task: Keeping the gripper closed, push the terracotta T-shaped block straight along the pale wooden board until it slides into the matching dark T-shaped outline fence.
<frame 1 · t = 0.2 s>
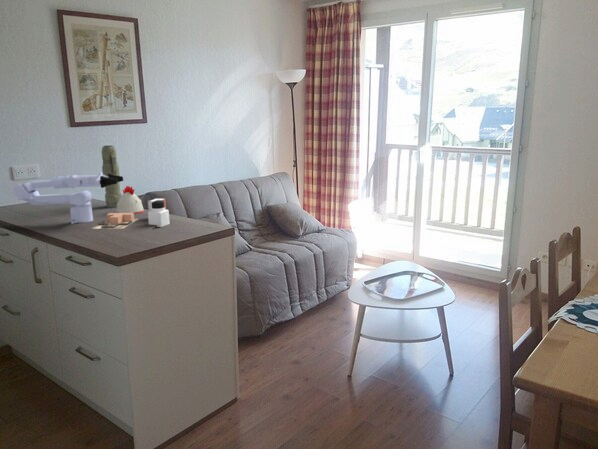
hand: (120, 179, 230), 21 cm above the table, tool horizontal, fingers open, 7 cm apart
t block: (119, 221, 233), point 1 cm above the table, touching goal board
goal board: (116, 225, 229), on the table
medicine bottle: (159, 225, 229), on the table
thermos: (114, 206, 276), on the table
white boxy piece: (158, 220, 239), on the table
kitchen timer: (130, 213, 256), on the table
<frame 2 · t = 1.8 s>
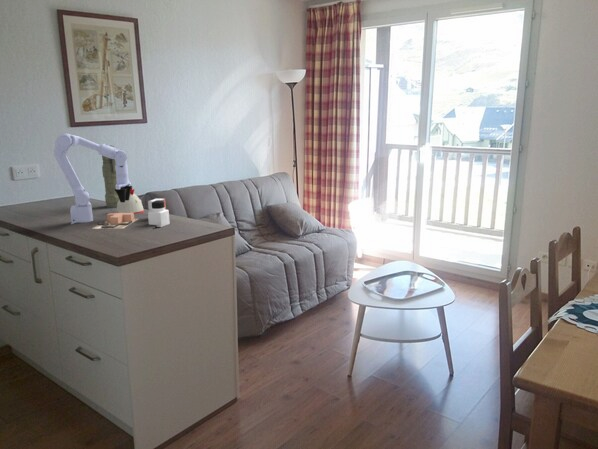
hand: (124, 201, 240), 9 cm above the table, tool pointing down, fingers open, 5 cm apart
nothing on the table moved.
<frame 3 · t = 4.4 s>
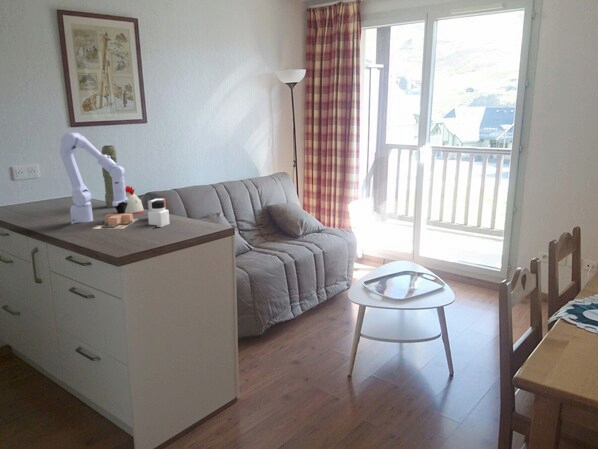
hand: (122, 217, 236), 2 cm above the table, tool pointing down, fingers closed
t block: (118, 222, 231), point 1 cm above the table, touching gripper
everything else where it was.
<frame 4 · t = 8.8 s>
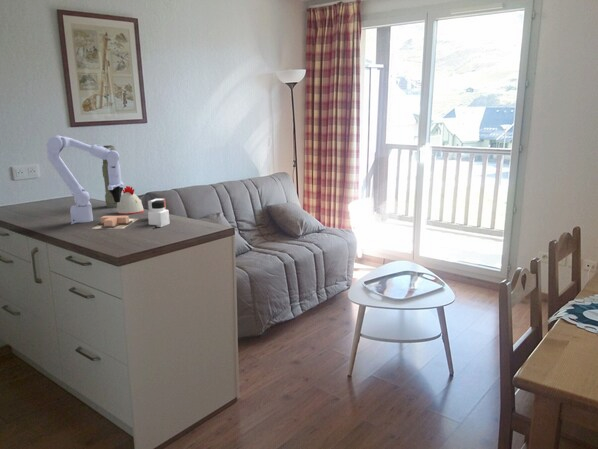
hand: (117, 202, 238), 9 cm above the table, tool pointing down, fingers closed
t block: (113, 224, 226), point 1 cm above the table, touching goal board
everything else where it was.
at the end: t block 0.2 cm from the target spot, point 1.0 cm above the table; t block tilted 0° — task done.
